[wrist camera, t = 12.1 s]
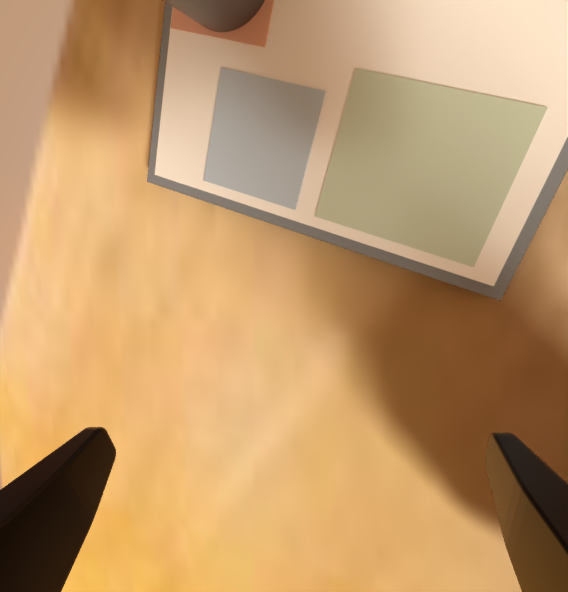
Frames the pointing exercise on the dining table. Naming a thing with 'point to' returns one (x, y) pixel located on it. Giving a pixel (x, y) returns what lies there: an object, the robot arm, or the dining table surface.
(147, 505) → the dining table surface
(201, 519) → the dining table surface
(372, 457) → the dining table surface
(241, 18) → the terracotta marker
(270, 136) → the picture board
